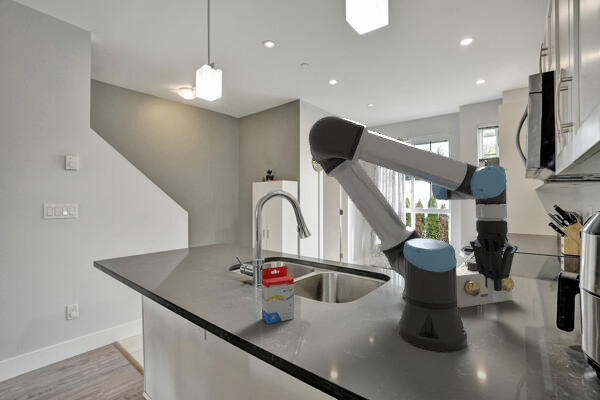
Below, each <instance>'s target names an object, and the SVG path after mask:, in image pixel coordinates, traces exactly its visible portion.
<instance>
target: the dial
mask: <svg viewBox="0 0 600 400" xmlns="http://www.w3.org/2000/svg"><path fill="white" fill-rule="evenodd" d="M466 267H467V270H471V271H478V269H477V264H476V261H467V262H466Z"/></svg>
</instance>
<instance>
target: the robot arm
mask: <svg viewBox="0 0 600 400" xmlns="http://www.w3.org/2000/svg"><path fill="white" fill-rule="evenodd" d="M308 143H309V151H310V154H311V157H312V158H313V160H314V161H315V162H316V163H317V164H318V165H319V166H320V167H321V169H322V170H323V172H324V173H325V174H326V176H327V177H331V178H334V179H335V180H337V182H338V184H339V185H340V187H341V188H342V189H343V190H344V192H345V193H346V194H347V196H348V197H349V198H350V201H351V202H352V203H353V205H354V206H355V207H356V209H357V210H358V211H359V213H360V214H361V216H362V217H363V218H364V220H365V222H366V223H367V224H368V225H369V227H370V228H371V230H372V231H373V232H374V233H375V235H376V236H377V237H378V240H379V241H380V246H379V248H380V249H379V250H380V251H381V252H382V253H383V255H384V256H385V258H386V259H387V262H388V264H389V266H390V267H391V268H392V270H393V271H394V272H395V273H396V274H398V275H399V276H401V277H402V278H403V280H404V279H405V297H404V298H405V304H404V305H403V308H402V309H403V310H402V311H401V312H402V313H401V315H400V316H401V317H400V319H399V321H398V333H399V336H400V337H401V338H402V339H403V340H404V341H406V342H407V343H409V344H411V345H413V346H415V347H418V348H421V349H425V350H430V351H435V352H445V353H446V352H457V351H460V350H463V349H464V348H465V347H467V345H468V334H467V330H466V328H465V327H464V324H463V323H464V322H463V320H462V318H461V317H462V316H461V314H460V311H459V309H458V308H459V307H457V278H456V268H457V262H458V261H457V258H456V256H457V255H456V250H455V247H453V245H452V244H450V243H449V242H446V241H444V240H437V239H435V238H423V237H421V236H420V234H419V233H418V232H417V231H416V230H415V228H414V227H413V226H407V225H406V224H405V223H404V221H403V220H402V219H401V218H400V216H399V215H398V213H397V212H396V211H395V210H394V207H392V205H391V204H390V202H389V201H388V199H386V197H385V195H384V194H383V193H382V192H381V189H379V187H378V186H377V185H376V183H375V182H374V180H373V179H372V178H371V176H370V175H369V174H368V173H367V170H366V169H365V168H364V167H363V166H362V164H361V163H360V162H359V160H360V161H363V162H366V163H368V164H369V163H370V164H372V165H375V166H377V167H378V166H379V167H382V168H384V169H387V170H390V171H393V172H396V173H399V174H401V175H404V176H407V177H410V178H414V179H416V180H419V181H423V182H426V183H429V184H431V192H432V196H433V198H435V199H436V200H438V201H440V200H441V201H443V200H444V201H455V200H456V201H457V200H458V201H459V200H464V201H465V200H474V202H475V218H476V219H477V220H476V221H475V227H476V229H475V230H476V232H477V237H476V239H475V240H470V241H469V245H470V246H471V248H472V251H473V255H474V259H475V262H476V264H477V269H478V272H479V274H482V275H484V277H485V286H486V288H488V301H490V302H495V303H500V302H499V301H500V291H501V290H502V279H506V278H509V275H510V270H511V271H512V269H511V268H512V265H513V261H514V256H515V253H517V251H518V249H519V247H518V246H517V245H513V244H511V243H510V242H509V239H508V237H507V234H508V221H507V220H505V219H507V218H508V207H507V206H508V205H507V182H508V180H507V174H506V169H505V168H504V167H503V166H501V165H487V166H485V165H482V166H476V165H474V164H471V163H468V162H463V161H460V160H457V159H455V158H451V157H448V156H445V155H443V154H439V153H436V152H434V151H430V150H427V149H425V148H421V147H418V146H416V145H412V144H411V143H410V144H409V143H406V142H404V141H400V140H397V139H395V138H392V137H388V136H385V135H382V134H381V133H380V134H379V133H377V132H373V131H370V130H369V129H368V127H367V125H365V124H362V123H359V122H357V121H353V120H350V119H347V118H346V117H345V118H344V117H340V116H335V115H334V116H333V115H328V116H324V117H322V118H319V119H318V120H316V122H314V123H313V125H312V126H311V128H310V130H309V133H308ZM482 269H483V270H482Z"/></svg>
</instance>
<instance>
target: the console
mask: <svg viewBox="0 0 600 400" xmlns="http://www.w3.org/2000/svg"><path fill="white" fill-rule="evenodd" d="M482 270H483V269H482ZM456 278H457V308H459V309H460V308H466V307H473V306H479V305H481V306H482V305H487V304H494V303H496V302H490V301H488V288H486V286H485V277H484V275H482V274H479V272H478V271H471V270H467V266H461V267H459V266H458V267H456ZM509 278H511V279H512V269H511V270H510V275H509ZM469 280H471V281H474V282H477V283H479V285H480V293H479V294H478V295H477V296H472V295H469V294H466V293H465V291H464V284H465V283H466V282H467V281H469ZM508 301H513V289H512V290H511V291H510V292H508V291H504V290H501V291H500V301H499V302H498V303H500V302H508Z"/></svg>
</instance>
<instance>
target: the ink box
mask: <svg viewBox="0 0 600 400" xmlns="http://www.w3.org/2000/svg"><path fill="white" fill-rule="evenodd" d="M274 271H277V272H274ZM261 272H262V275H261V276H262V277H261V278H262V279H261V318H262V320H264V322H266V324H268V325H270V324H275V323H279V322H283V321H284V322H285V321H288V320H293V319H295V285H294V284H295V282H294V281H295V279H294V278H293V277H292V276H290V275H288V266H287V265H282V266H274V267H267V268H266V267H265V268H263V269H262V271H261ZM271 272H274V273H271Z"/></svg>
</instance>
